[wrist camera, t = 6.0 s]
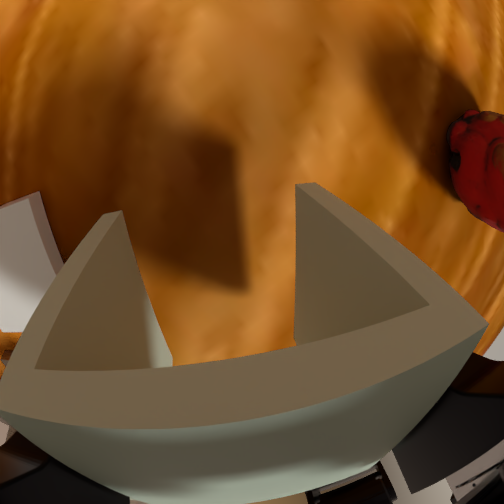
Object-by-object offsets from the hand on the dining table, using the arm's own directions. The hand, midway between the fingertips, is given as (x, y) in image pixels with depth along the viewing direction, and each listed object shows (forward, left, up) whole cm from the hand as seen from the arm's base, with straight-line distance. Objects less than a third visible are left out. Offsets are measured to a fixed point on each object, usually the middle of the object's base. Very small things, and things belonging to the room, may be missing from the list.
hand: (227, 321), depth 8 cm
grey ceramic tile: (+11, -1, -4) cm, 12 cm away
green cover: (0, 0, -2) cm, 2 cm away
